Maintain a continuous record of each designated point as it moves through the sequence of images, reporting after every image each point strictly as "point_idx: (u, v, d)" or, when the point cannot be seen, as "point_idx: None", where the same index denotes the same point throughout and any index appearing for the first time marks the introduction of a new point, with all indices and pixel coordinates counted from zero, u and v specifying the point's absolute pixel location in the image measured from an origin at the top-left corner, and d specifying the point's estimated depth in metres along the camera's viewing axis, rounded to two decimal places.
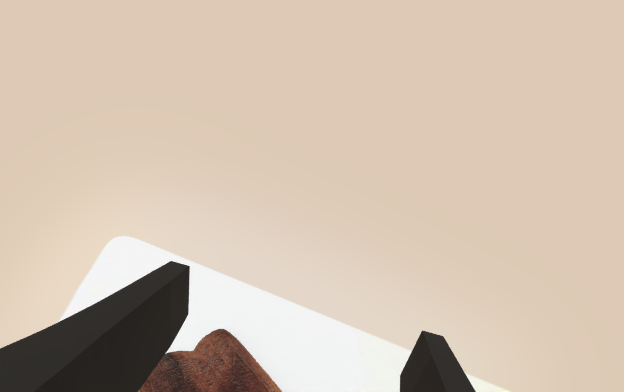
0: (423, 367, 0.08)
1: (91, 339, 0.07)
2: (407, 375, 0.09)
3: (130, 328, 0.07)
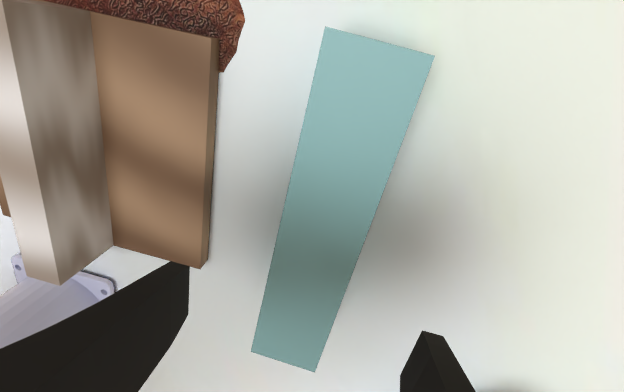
0: (423, 367, 0.08)
1: (91, 340, 0.07)
2: (407, 375, 0.09)
3: (130, 328, 0.07)
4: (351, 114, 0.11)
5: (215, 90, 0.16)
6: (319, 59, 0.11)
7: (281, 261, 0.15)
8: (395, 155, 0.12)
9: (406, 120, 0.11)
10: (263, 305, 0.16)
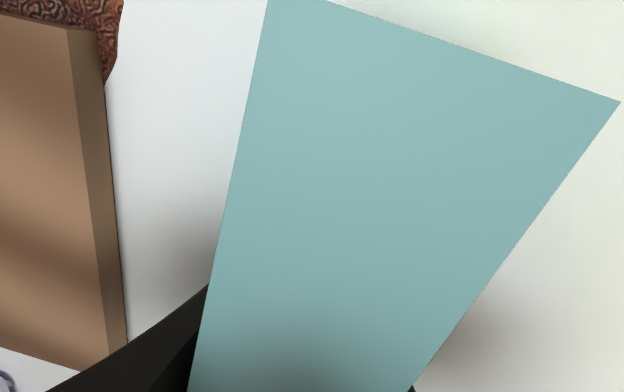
0: None
1: (163, 360, 0.06)
2: None
3: (194, 347, 0.07)
4: (341, 231, 0.04)
5: (99, 121, 0.09)
6: (256, 83, 0.04)
7: None
8: (446, 331, 0.05)
9: (489, 263, 0.04)
10: None
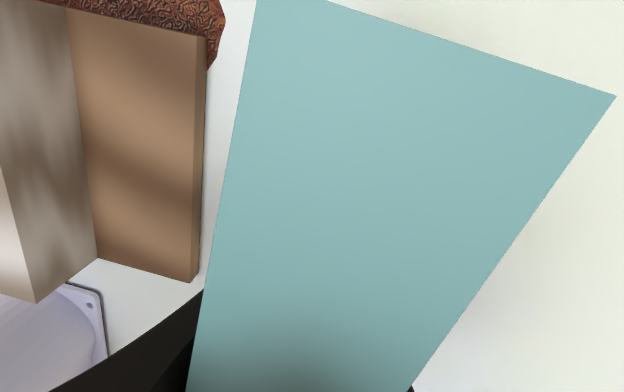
0: None
1: (164, 361, 0.06)
2: None
3: None
4: (336, 230, 0.04)
5: (202, 92, 0.15)
6: (247, 82, 0.04)
7: None
8: (444, 331, 0.05)
9: (486, 262, 0.04)
10: None
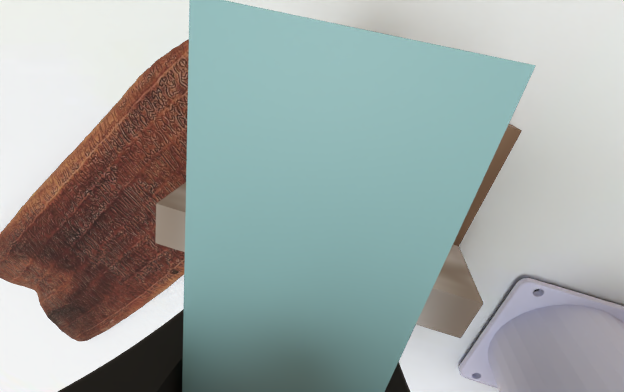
0: None
1: (170, 363, 0.06)
2: None
3: None
4: (297, 224, 0.04)
5: None
6: (193, 89, 0.04)
7: None
8: (415, 314, 0.05)
9: (443, 240, 0.04)
10: None
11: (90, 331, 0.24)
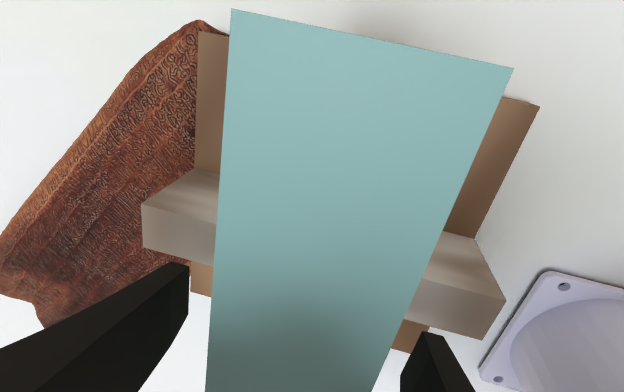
0: (423, 367, 0.08)
1: (91, 340, 0.07)
2: (407, 375, 0.09)
3: (130, 328, 0.07)
4: (314, 202, 0.05)
5: None
6: (230, 87, 0.05)
7: None
8: (416, 281, 0.05)
9: (439, 215, 0.05)
10: None
11: None
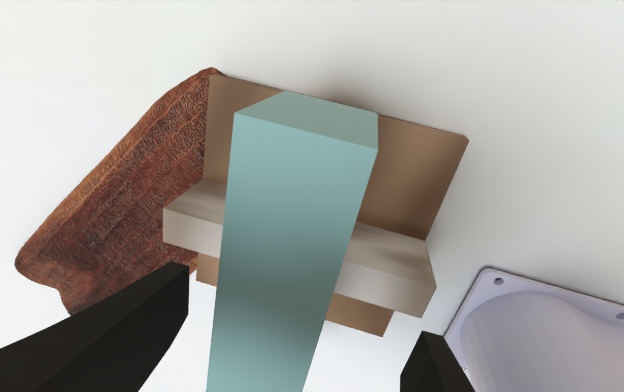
0: (423, 367, 0.08)
1: (91, 339, 0.07)
2: (407, 375, 0.09)
3: (130, 328, 0.07)
4: (280, 214, 0.09)
5: (257, 84, 0.17)
6: (233, 150, 0.08)
7: (220, 368, 0.12)
8: (340, 262, 0.09)
9: (349, 224, 0.09)
10: None
11: None
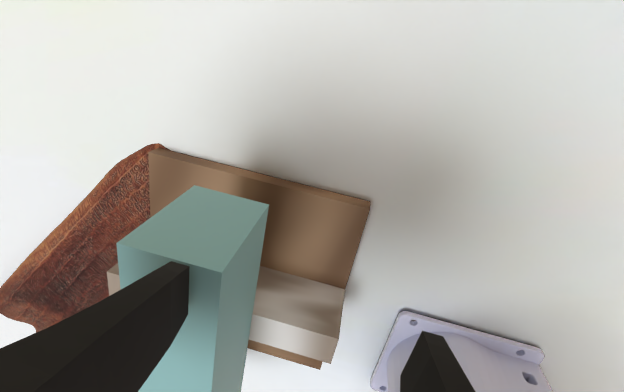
0: (423, 367, 0.08)
1: (91, 340, 0.07)
2: (407, 375, 0.09)
3: (130, 328, 0.07)
4: None
5: (191, 158, 0.20)
6: (120, 267, 0.11)
7: None
8: (214, 346, 0.12)
9: (214, 320, 0.11)
10: None
11: None
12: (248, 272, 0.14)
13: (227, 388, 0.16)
